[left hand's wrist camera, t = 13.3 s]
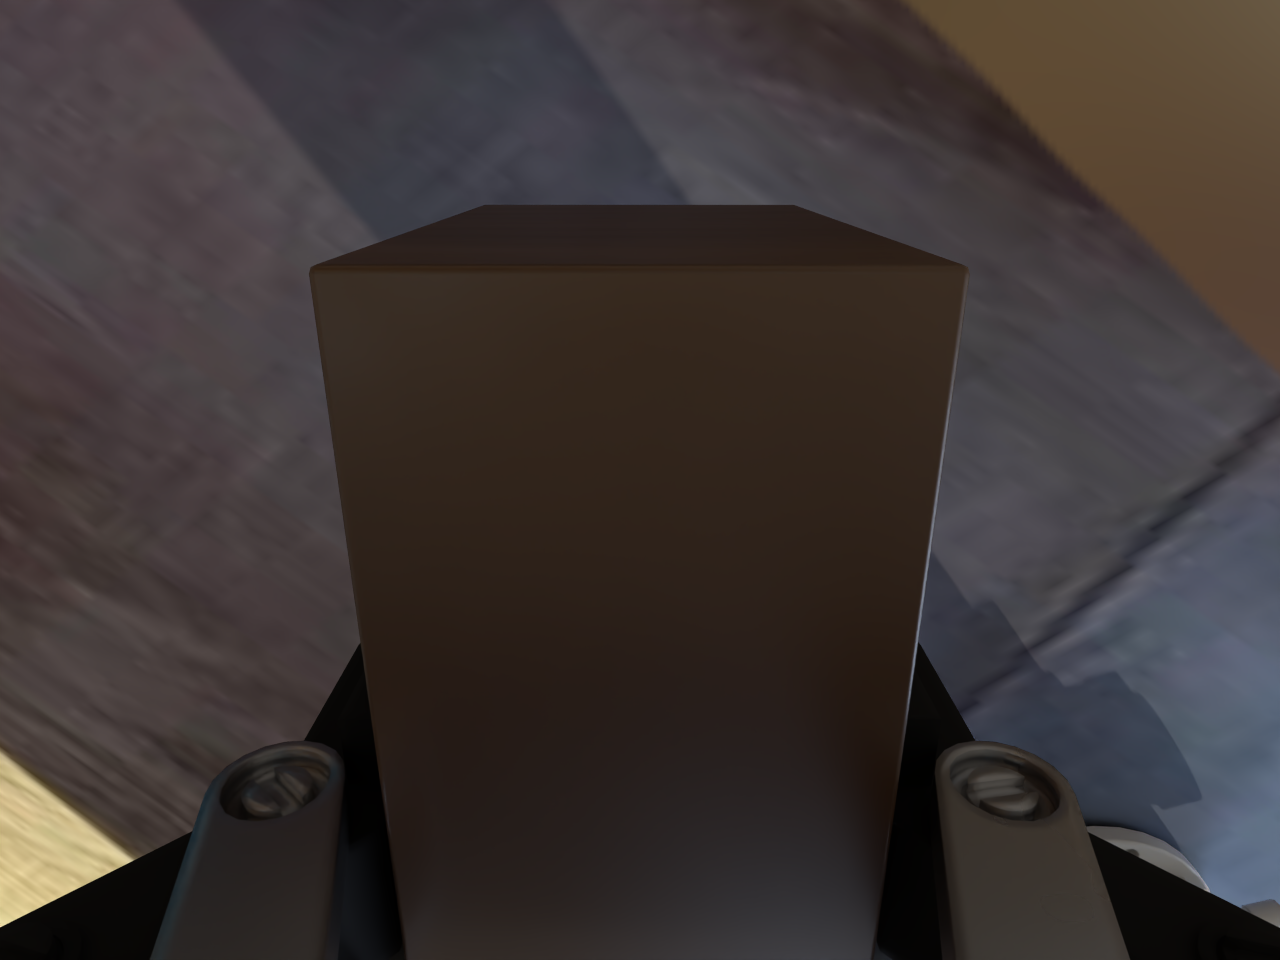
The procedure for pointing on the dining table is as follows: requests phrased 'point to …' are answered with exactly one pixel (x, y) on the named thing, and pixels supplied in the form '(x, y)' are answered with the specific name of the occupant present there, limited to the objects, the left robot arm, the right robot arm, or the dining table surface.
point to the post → (639, 568)
